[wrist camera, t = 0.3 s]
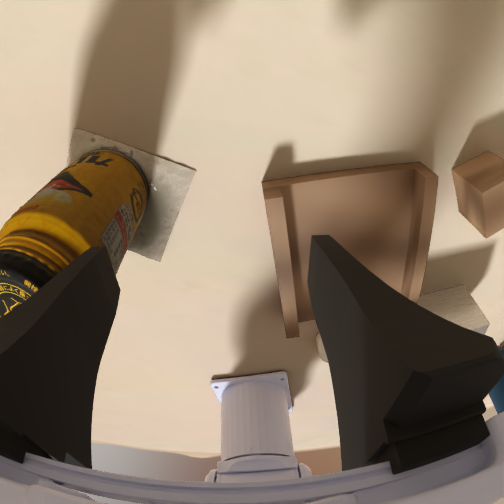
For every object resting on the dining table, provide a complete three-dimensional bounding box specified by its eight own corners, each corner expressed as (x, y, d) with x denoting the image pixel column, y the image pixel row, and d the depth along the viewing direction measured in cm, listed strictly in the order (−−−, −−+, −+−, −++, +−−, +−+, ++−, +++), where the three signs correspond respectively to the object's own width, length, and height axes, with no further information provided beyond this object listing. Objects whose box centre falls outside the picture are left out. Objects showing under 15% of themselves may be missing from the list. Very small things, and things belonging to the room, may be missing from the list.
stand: (404, 292, 26) (415, 311, 24) (283, 315, 27) (286, 338, 25) (420, 162, 19) (438, 176, 17) (261, 182, 20) (264, 199, 18)
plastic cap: (351, 342, 30) (356, 358, 28) (316, 349, 30) (319, 366, 28) (354, 318, 28) (359, 334, 26) (315, 325, 28) (319, 342, 26)
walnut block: (493, 192, 21) (521, 216, 18) (458, 211, 22) (485, 238, 19) (487, 150, 19) (520, 171, 15) (450, 168, 20) (482, 193, 16)
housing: (453, 312, 29) (477, 353, 24) (378, 331, 29) (396, 379, 25) (462, 283, 26) (491, 325, 22) (382, 303, 27) (405, 353, 22)
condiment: (75, 127, 17) (-54, 217, 7) (196, 170, 19) (160, 306, 9) (57, 221, 21) (-28, 343, 11) (160, 259, 23) (125, 406, 13)
